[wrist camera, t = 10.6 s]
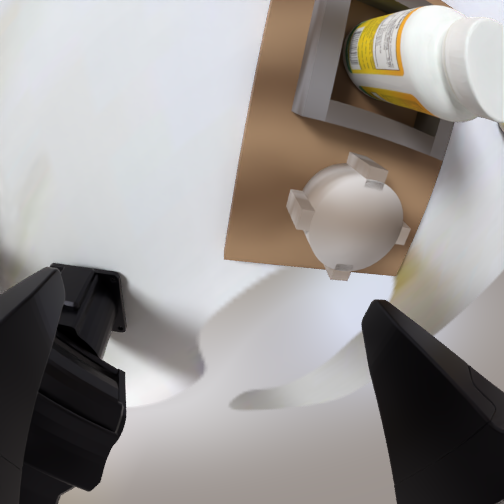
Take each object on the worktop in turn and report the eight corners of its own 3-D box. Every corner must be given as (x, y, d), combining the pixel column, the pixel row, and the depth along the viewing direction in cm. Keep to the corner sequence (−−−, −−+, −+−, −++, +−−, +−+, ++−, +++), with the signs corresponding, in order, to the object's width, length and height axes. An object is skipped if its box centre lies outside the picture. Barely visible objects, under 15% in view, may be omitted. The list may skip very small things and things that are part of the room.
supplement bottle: (322, 41, 13) (422, 14, 5) (389, 10, 12) (504, -11, 3) (369, 116, 16) (480, 165, 7) (428, 82, 14) (545, 112, 6)
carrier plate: (390, 269, 23) (411, 299, 20) (224, 251, 21) (224, 287, 18) (463, 22, 12) (499, 22, 9) (284, -58, 10) (298, -86, 6)
